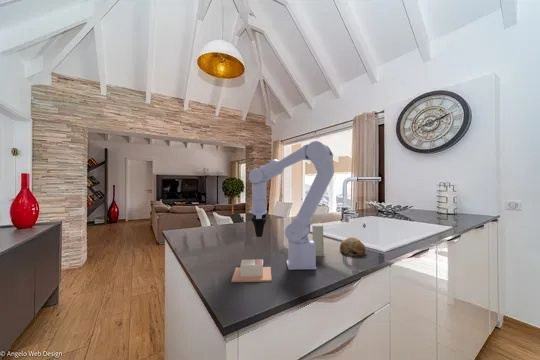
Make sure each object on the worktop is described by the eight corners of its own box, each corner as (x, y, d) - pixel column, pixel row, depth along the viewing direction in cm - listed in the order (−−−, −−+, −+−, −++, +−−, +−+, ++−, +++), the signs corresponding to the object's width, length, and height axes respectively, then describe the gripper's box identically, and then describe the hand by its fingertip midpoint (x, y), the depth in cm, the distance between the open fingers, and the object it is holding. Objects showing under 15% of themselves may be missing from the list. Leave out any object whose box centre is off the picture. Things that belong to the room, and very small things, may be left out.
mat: (270, 268, 76) (270, 266, 76) (271, 281, 66) (271, 279, 66) (235, 268, 76) (235, 267, 76) (231, 282, 66) (231, 280, 66)
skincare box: (324, 257, 87) (323, 226, 87) (312, 256, 88) (312, 225, 88) (323, 252, 93) (323, 223, 93) (312, 251, 94) (312, 223, 94)
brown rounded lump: (341, 262, 90) (342, 247, 87) (337, 245, 100) (338, 231, 96) (366, 264, 89) (368, 248, 85) (360, 246, 98) (362, 232, 95)
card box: (242, 270, 73) (242, 259, 73) (263, 269, 73) (262, 259, 73) (240, 276, 68) (240, 265, 68) (263, 276, 68) (263, 264, 68)
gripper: (250, 198, 93) (250, 230, 93) (247, 201, 79) (247, 239, 79) (266, 198, 93) (267, 230, 93) (267, 201, 79) (267, 239, 79)
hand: (259, 234), depth 86 cm, fingers open, 7 cm apart
